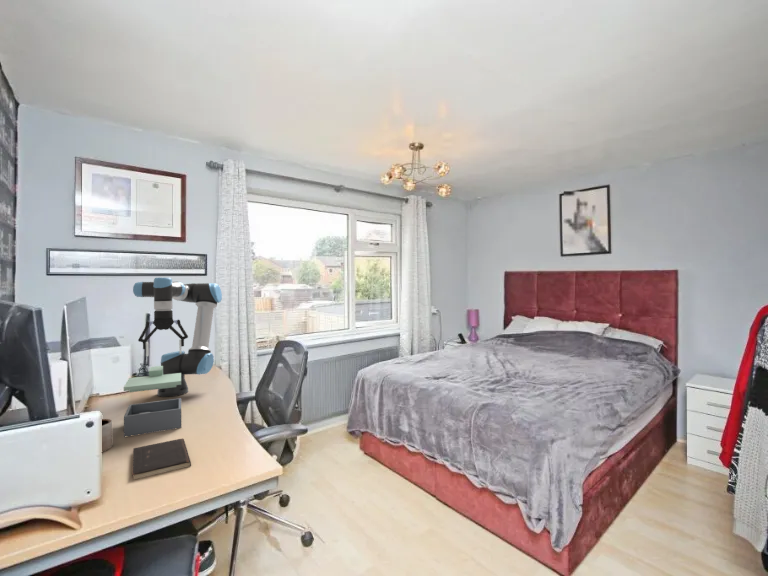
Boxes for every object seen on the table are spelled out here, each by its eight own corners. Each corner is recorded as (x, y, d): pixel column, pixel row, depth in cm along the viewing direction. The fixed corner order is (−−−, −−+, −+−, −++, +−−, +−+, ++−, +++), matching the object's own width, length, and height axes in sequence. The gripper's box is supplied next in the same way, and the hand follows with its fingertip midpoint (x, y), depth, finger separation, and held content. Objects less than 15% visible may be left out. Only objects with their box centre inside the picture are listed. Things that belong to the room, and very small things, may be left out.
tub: (129, 423, 163) (129, 404, 163) (181, 415, 172) (181, 398, 172) (123, 437, 147) (123, 416, 147) (181, 427, 157) (181, 408, 157)
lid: (131, 380, 171) (131, 368, 171) (181, 374, 180) (181, 364, 180) (123, 394, 147) (123, 380, 147) (181, 387, 157) (181, 375, 157)
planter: (80, 447, 138) (80, 421, 138) (115, 442, 142) (115, 417, 142) (69, 459, 128) (69, 431, 128) (107, 453, 132) (107, 426, 132)
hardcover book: (132, 482, 113) (132, 474, 113) (133, 454, 132) (133, 448, 132) (191, 467, 122) (191, 460, 122) (184, 444, 141) (184, 437, 141)
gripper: (130, 311, 167) (131, 358, 167) (193, 309, 179) (193, 353, 179) (132, 310, 174) (133, 356, 174) (192, 308, 185) (193, 350, 186)
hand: (164, 354), depth 176 cm, fingers open, 13 cm apart
